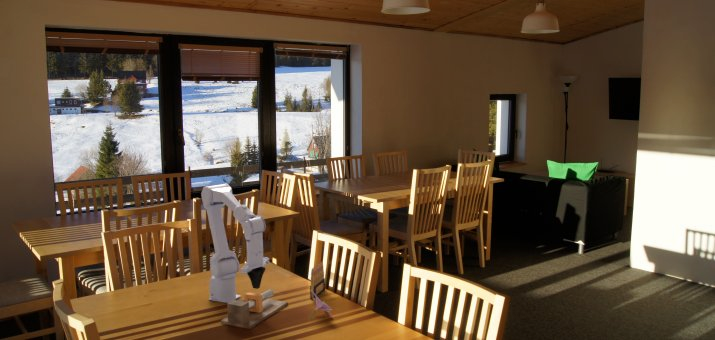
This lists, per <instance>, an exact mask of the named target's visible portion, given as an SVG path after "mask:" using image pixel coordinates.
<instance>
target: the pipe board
mask: <svg viewBox="0 0 715 340" xmlns="http://www.w3.org/2000/svg"><path fill="white" fill-rule="evenodd" d="M262 304H263V311H262V312H260V313H258V312H252V311H249V302H245V301H243V300H238V299H235V300H233V301H231V302H229V303H226V306H227V308H226V309H227V317H225V318H223V319H221V320H220V324H223V325H228V326H232V327H237V328H243V329H248V330H251V329H252V328H254V327H256V326H257V325H259V324H260V323H261V322H263V321H265V320H267V319H268V318H270V317H271V316H272V315H274V314H276V313H277V312H279V311H280V310H282V309H283V308H285V307H287V306H288V305H289V302H288V301H282V300H277V299H272V298H268V299H266V300H264V301H263V302H262Z"/></svg>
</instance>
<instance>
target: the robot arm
mask: <svg viewBox="0 0 715 340" xmlns="http://www.w3.org/2000/svg"><path fill="white" fill-rule="evenodd" d="M200 195H201V201H202V205H203V209H204V210H206V214H207V218H208V219H207V220H208V224H209V229H210V234H211V237H212V241H213V242H212V243H213V247H214V254H213V255H212V256H211V257H210V259H209V263H210V266H209V267H210V268H209V270H210V273H211V277H210V280H209V284H208V285H209V298H208V300H209V301H214V302H219V303H226V304H228V303H229V302H231V301H233V300H238V299H239V298H241V295H240V294H237V292H236V291H237V289H236V288H237V287H236V276H237V274H238V273H239V270H240V274H241V275H247V276H248V278H249V279H250V282H251V286H252V288H253V289H255V290H258V289H260V288H261V283H262V280H263V276H264V273H265V272H266V266H267V265H268V264H270V257H267V256H264V240H263V237H264V236H263V232H265V231H266V227H267V226H266V225H267V224H266V220H265V219H264V217H263V216H261V215H256V214H254V212H252V210H250V208H248V206H247V205H246V204H241V203H240V202H239V201H238V200H237V198H236V197H235V196H234V194H233V189H232V187H231V186H230V185H229V183H227V182H225V183H220V184H216V185H206V186H204V187H203V188H202V191H201V193H200ZM224 206H227V208H229V209H230V210H231V211H232V212H233V213H232V215H233V217H234V219H236V220H237V222H238V223H239V224H240V225H241V227H242V231H243V234H244V238H245V240H246V241H245V242H246V263H245V265H244V266H243V267H241V268H240V261H239V260H238V257H237V254H236V253H235V252H234V251H232V250H230V248H229V243H228V238H227V233H226V229H225V225H224V220H223V215H222V208H223V207H224Z"/></svg>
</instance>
